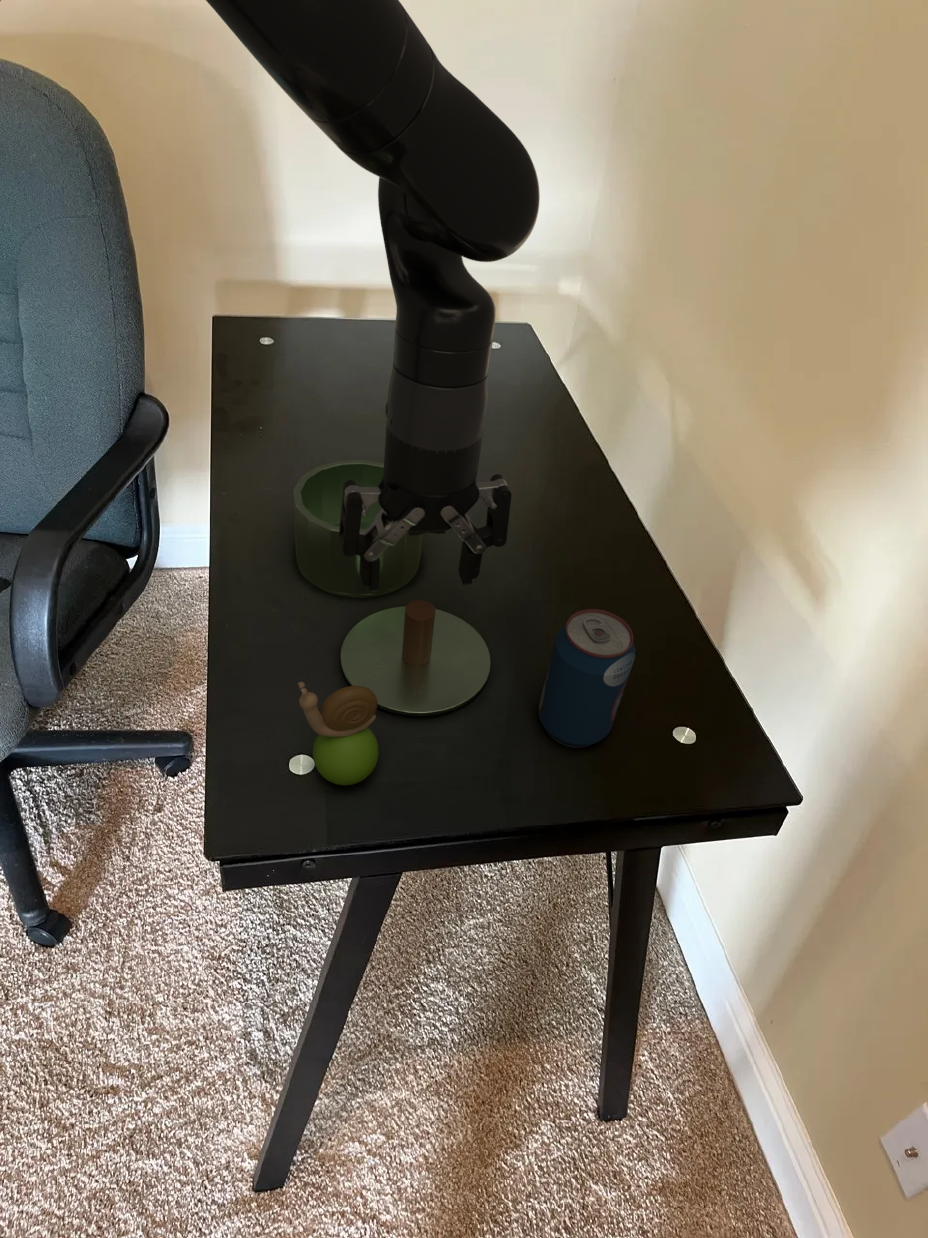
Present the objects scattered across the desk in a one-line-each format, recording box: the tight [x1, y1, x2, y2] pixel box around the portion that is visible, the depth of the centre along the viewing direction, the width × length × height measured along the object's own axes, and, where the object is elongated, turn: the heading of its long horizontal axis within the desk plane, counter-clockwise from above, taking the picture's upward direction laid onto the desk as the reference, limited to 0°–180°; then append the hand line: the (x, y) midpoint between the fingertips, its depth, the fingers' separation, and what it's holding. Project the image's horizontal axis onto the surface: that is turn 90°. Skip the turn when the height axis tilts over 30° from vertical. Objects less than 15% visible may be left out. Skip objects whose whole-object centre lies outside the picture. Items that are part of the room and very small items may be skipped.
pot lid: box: [339, 599, 491, 717], centre depth 79 cm, size 15×15×7 cm
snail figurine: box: [297, 681, 380, 786], centre depth 66 cm, size 5×6×12 cm
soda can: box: [537, 608, 636, 749], centre depth 73 cm, size 7×7×12 cm
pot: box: [292, 459, 424, 599], centre depth 89 cm, size 14×14×8 cm
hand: (419, 582), depth 74 cm, fingers open, 8 cm apart
